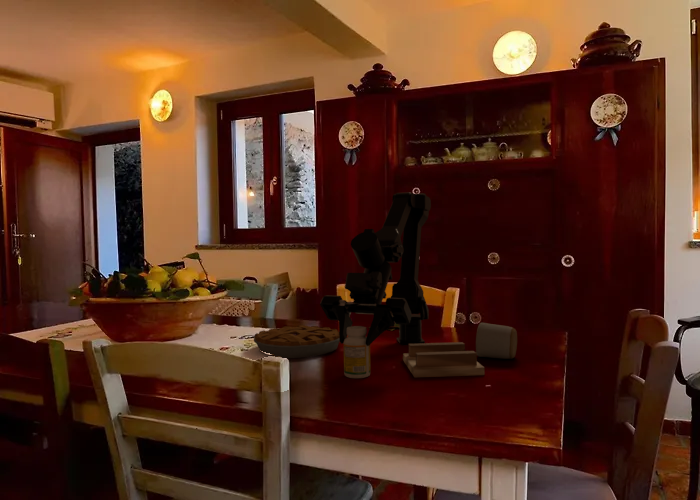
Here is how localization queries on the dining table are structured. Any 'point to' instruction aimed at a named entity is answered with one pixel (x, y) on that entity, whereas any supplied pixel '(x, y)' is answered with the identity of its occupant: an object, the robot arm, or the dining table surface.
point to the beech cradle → (442, 360)
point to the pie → (298, 341)
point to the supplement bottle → (356, 353)
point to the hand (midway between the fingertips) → (353, 343)
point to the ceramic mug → (496, 341)
